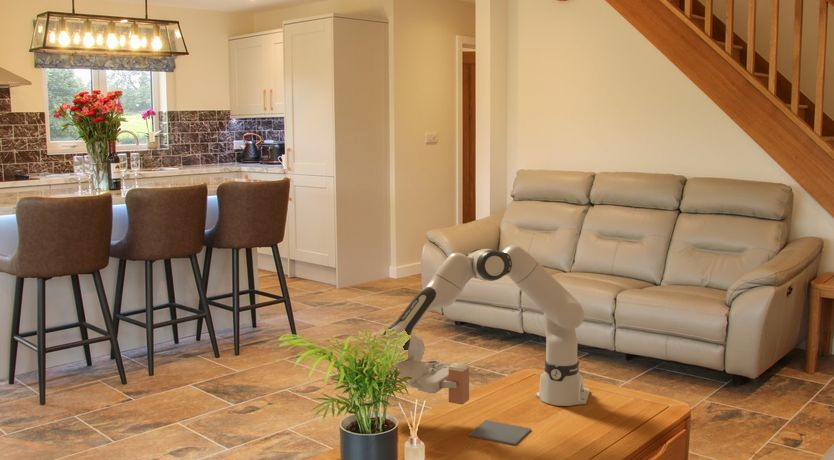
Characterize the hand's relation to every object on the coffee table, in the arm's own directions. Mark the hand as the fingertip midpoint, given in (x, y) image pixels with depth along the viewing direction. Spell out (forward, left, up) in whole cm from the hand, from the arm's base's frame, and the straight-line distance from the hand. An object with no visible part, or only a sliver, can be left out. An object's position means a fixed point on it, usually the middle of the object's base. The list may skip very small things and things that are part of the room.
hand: (461, 382), depth 257 cm
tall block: (0, -1, -7) cm, 7 cm away
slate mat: (-2, +13, -16) cm, 20 cm away
